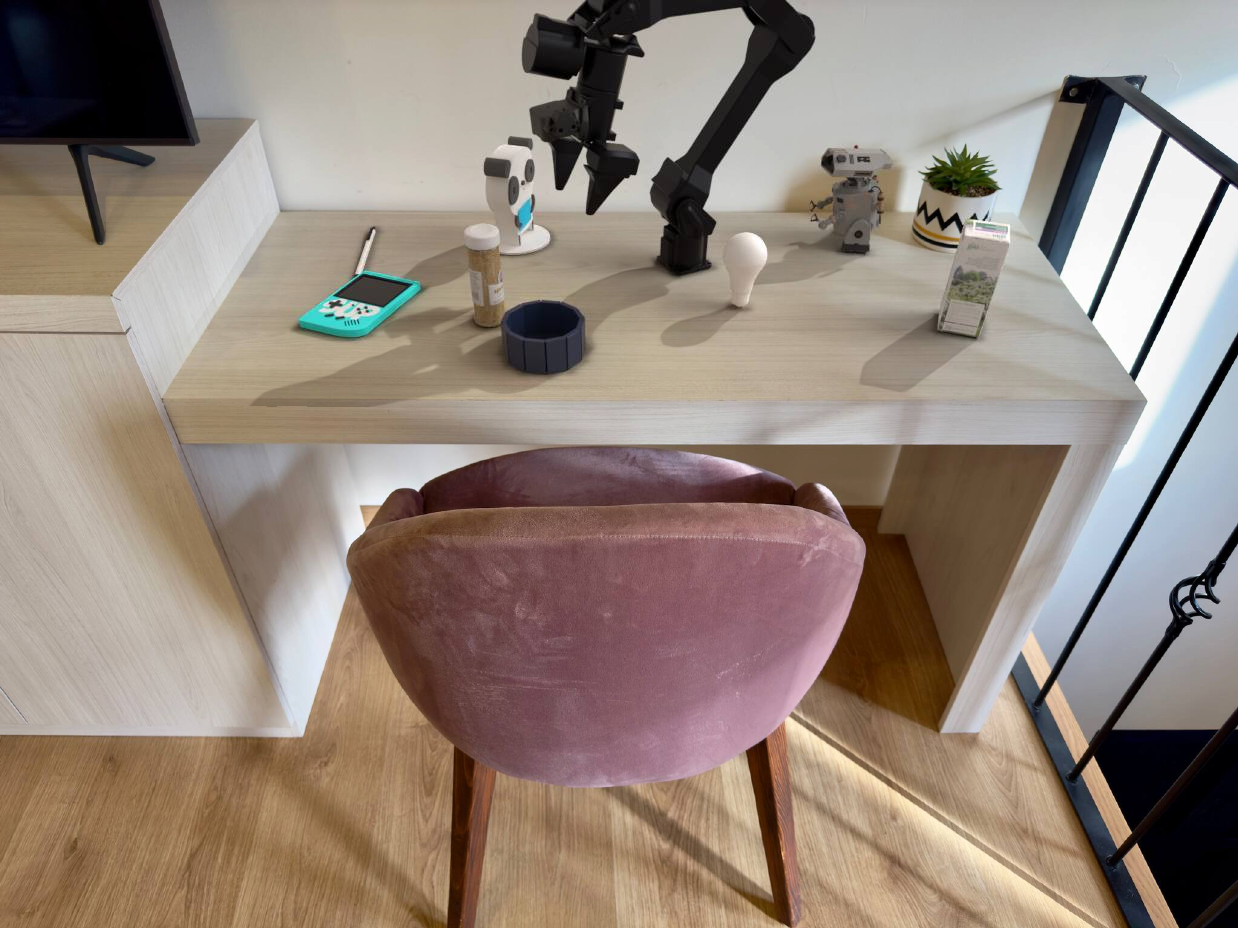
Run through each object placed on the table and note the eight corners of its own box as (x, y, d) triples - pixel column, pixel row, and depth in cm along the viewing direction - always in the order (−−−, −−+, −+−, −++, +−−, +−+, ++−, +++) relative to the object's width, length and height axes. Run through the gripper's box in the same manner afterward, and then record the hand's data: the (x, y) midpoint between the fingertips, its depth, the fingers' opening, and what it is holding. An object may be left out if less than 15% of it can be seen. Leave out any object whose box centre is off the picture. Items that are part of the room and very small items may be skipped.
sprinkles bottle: (508, 326, 118) (501, 235, 110) (475, 330, 118) (465, 238, 109) (504, 310, 122) (496, 220, 113) (472, 313, 121) (461, 223, 112)
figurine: (802, 227, 144) (816, 137, 135) (871, 231, 143) (890, 140, 134) (805, 251, 137) (820, 158, 128) (878, 255, 136) (898, 162, 127)
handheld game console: (297, 326, 118) (295, 318, 117) (364, 276, 129) (363, 268, 129) (359, 341, 115) (357, 332, 114) (422, 288, 127) (421, 280, 126)
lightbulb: (765, 301, 125) (775, 230, 118) (752, 320, 120) (762, 247, 113) (726, 292, 127) (733, 221, 120) (711, 311, 122) (718, 239, 115)
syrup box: (980, 319, 121) (1011, 222, 112) (979, 340, 117) (1011, 240, 108) (938, 312, 123) (965, 215, 113) (936, 332, 118) (964, 234, 109)
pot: (541, 323, 119) (540, 292, 116) (600, 348, 114) (600, 317, 111) (487, 355, 113) (484, 323, 110) (547, 383, 108) (546, 351, 105)
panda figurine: (534, 260, 134) (528, 166, 124) (467, 251, 136) (457, 157, 127) (559, 229, 143) (556, 138, 133) (496, 220, 145) (488, 131, 135)
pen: (377, 230, 142) (376, 223, 142) (359, 284, 128) (357, 277, 127) (371, 230, 142) (370, 223, 142) (353, 284, 128) (351, 278, 127)
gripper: (513, 58, 114) (494, 174, 122) (578, 100, 102) (553, 226, 110) (585, 69, 120) (562, 179, 128) (655, 111, 107) (625, 229, 116)
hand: (573, 202), depth 120 cm, fingers open, 9 cm apart
